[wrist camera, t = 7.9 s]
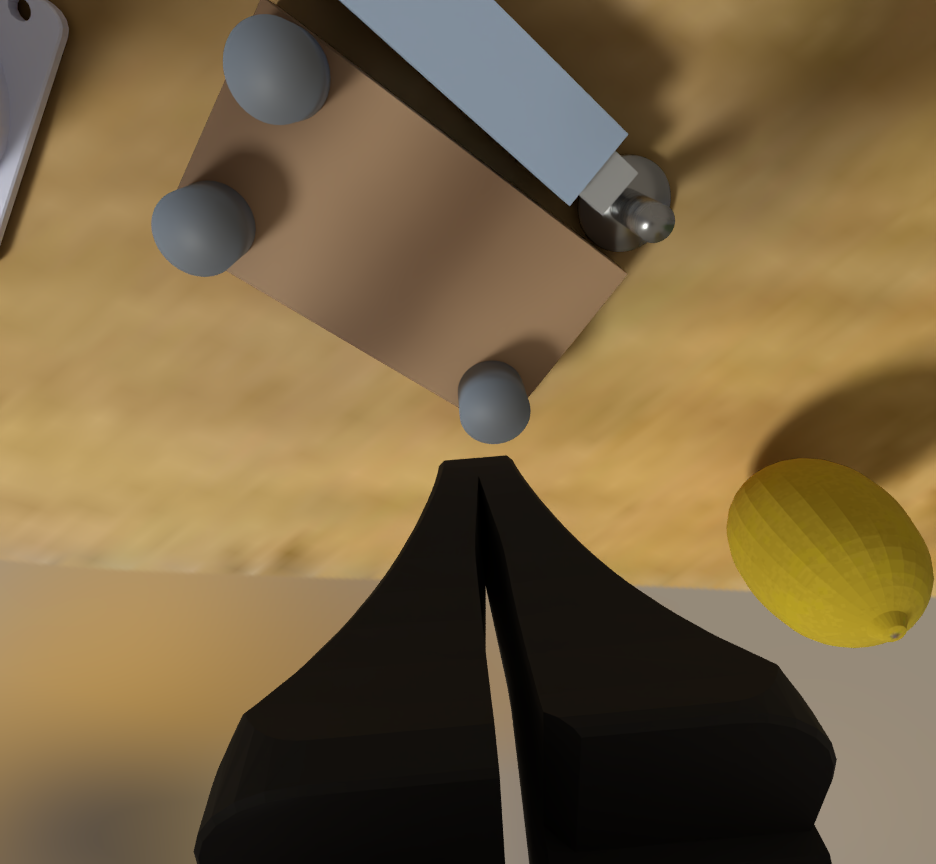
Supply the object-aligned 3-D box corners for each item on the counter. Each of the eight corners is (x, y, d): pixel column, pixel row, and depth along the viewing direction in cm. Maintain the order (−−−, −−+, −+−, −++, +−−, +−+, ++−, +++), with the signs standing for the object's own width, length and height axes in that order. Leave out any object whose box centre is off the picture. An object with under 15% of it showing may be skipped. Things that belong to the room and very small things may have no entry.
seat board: (177, 220, 18) (134, 243, 16) (275, 3, 16) (244, -14, 13) (495, 412, 22) (505, 456, 19) (614, 262, 20) (643, 289, 17)
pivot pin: (559, 216, 19) (582, 238, 16) (619, 134, 18) (654, 142, 15) (625, 266, 20) (657, 295, 17) (686, 191, 19) (730, 209, 16)
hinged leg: (630, 154, 18) (657, 163, 16) (580, 216, 19) (598, 232, 17) (320, -152, 14) (301, -193, 12) (272, -59, 15) (247, -83, 13)
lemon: (667, 494, 25) (762, 655, 18) (774, 395, 23) (929, 531, 16) (753, 553, 26) (870, 719, 19) (859, 466, 24) (1031, 616, 17)
